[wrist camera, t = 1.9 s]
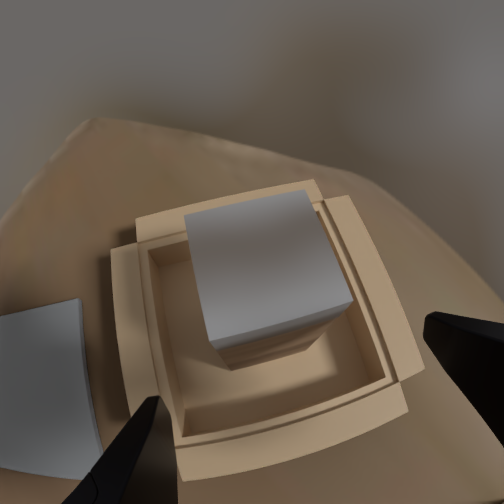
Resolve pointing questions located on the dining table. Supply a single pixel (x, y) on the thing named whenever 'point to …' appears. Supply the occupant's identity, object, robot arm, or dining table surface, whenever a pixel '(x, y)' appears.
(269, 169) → the dining table surface
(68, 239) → the dining table surface
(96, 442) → the rubber mat
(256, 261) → the grey rectangular block
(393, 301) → the carton
